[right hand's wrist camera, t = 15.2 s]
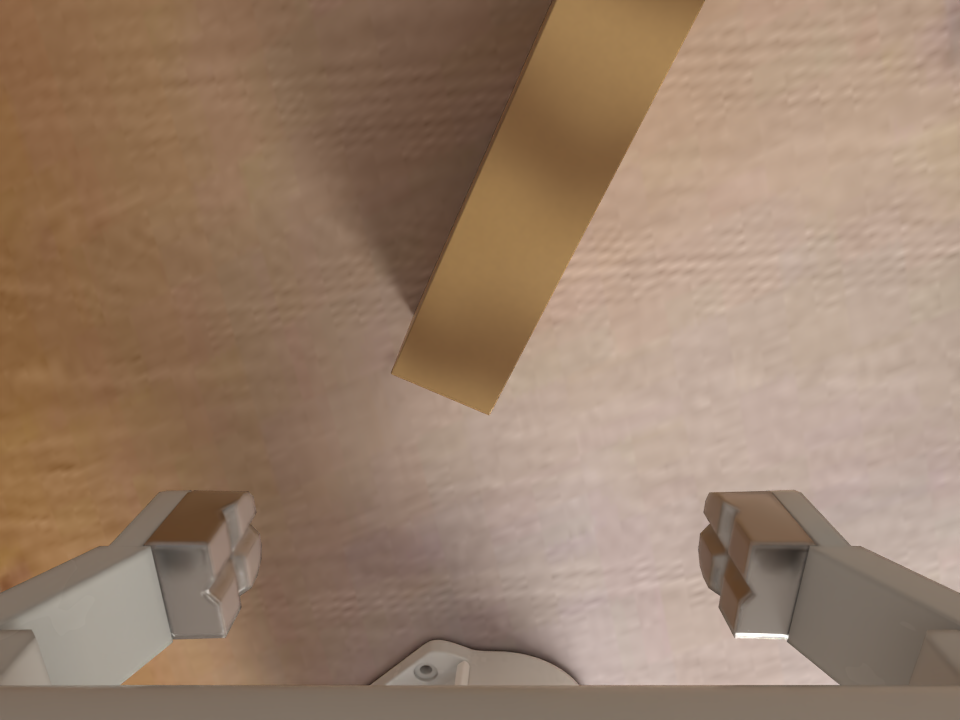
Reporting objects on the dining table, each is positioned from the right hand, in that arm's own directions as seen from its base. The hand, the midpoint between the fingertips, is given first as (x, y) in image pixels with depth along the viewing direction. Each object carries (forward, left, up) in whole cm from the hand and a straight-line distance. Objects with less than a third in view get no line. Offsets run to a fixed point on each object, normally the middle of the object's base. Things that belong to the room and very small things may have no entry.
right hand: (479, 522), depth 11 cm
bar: (+6, +4, -23) cm, 24 cm away
